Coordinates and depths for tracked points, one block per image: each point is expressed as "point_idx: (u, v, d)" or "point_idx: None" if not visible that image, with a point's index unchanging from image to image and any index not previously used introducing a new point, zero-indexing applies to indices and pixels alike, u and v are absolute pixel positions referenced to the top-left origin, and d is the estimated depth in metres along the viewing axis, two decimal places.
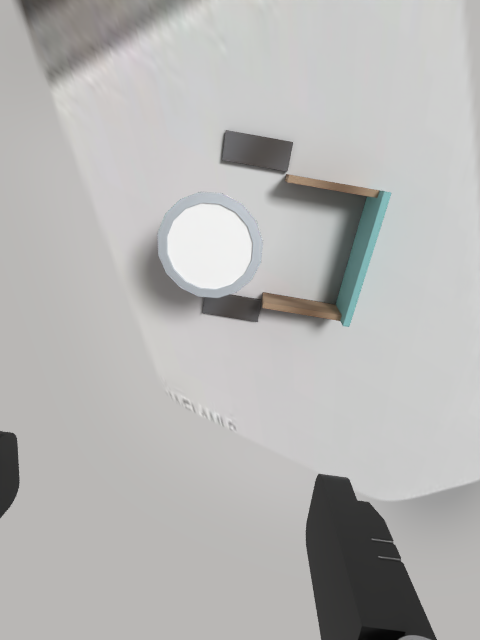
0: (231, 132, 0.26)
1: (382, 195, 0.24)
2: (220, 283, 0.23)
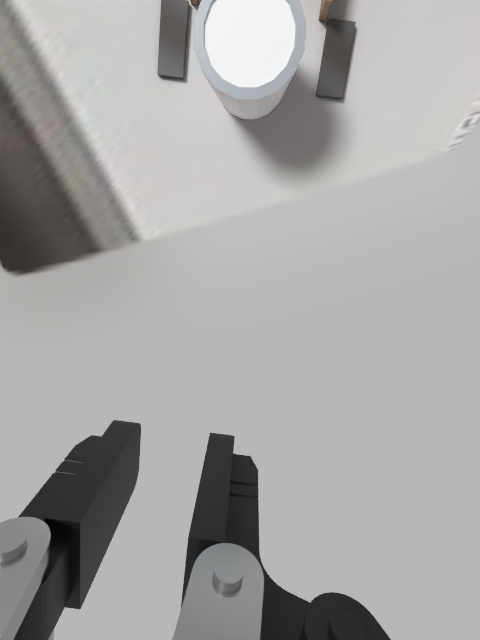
0: (158, 67, 0.27)
1: None
2: (288, 20, 0.21)
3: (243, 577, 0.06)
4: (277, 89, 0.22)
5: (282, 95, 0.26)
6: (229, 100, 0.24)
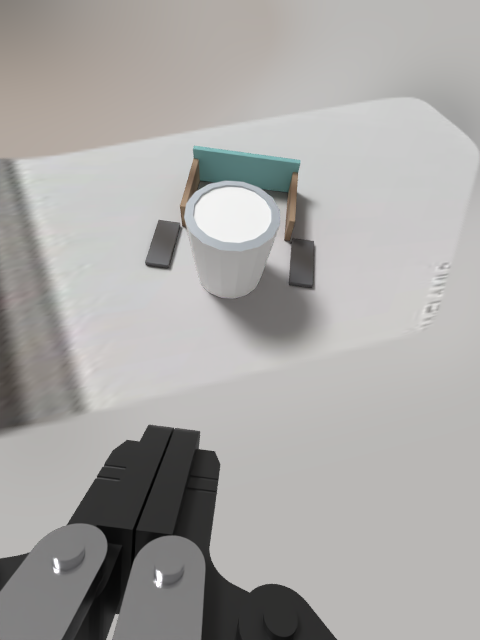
0: (147, 258, 0.30)
1: (196, 150, 0.33)
2: (265, 207, 0.25)
3: (183, 568, 0.06)
4: (258, 246, 0.24)
5: (260, 273, 0.28)
6: (212, 260, 0.25)
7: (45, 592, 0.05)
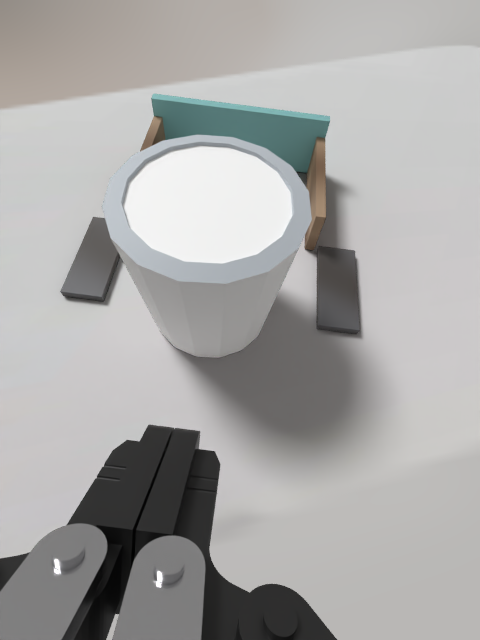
0: (65, 284, 0.17)
1: (156, 101, 0.20)
2: (278, 186, 0.12)
3: (184, 568, 0.06)
4: (267, 270, 0.10)
5: (266, 315, 0.15)
6: (166, 300, 0.12)
7: (45, 591, 0.05)
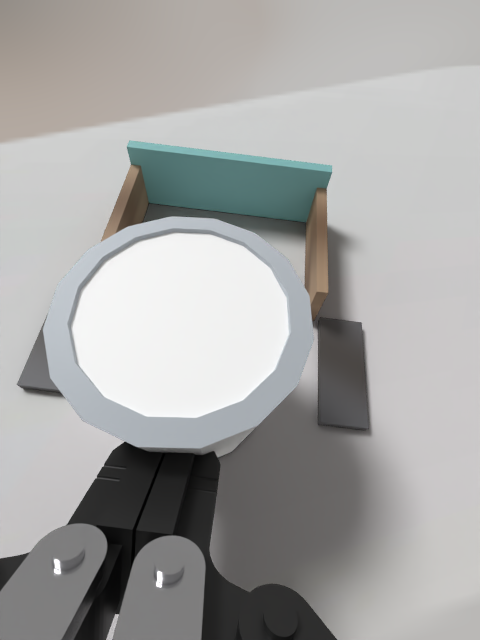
0: (23, 375, 0.15)
1: (132, 150, 0.17)
2: (271, 289, 0.10)
3: (184, 568, 0.06)
4: (256, 422, 0.08)
5: None
6: None
7: (45, 591, 0.05)
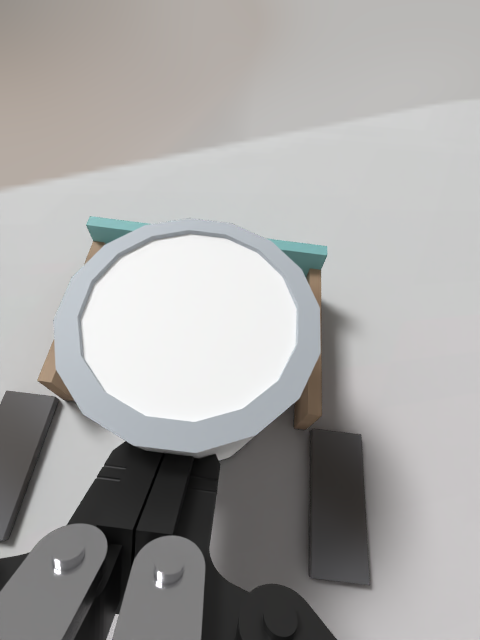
0: None
1: (93, 227, 0.15)
2: (281, 298, 0.09)
3: (183, 568, 0.06)
4: (254, 432, 0.08)
5: None
6: None
7: (44, 591, 0.05)
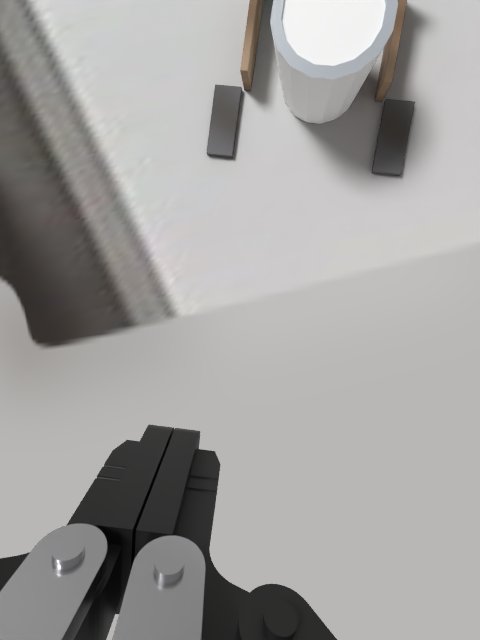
0: (208, 147, 0.27)
1: None
2: None
3: (183, 568, 0.06)
4: (357, 70, 0.19)
5: (355, 94, 0.24)
6: (299, 85, 0.21)
7: (45, 592, 0.05)
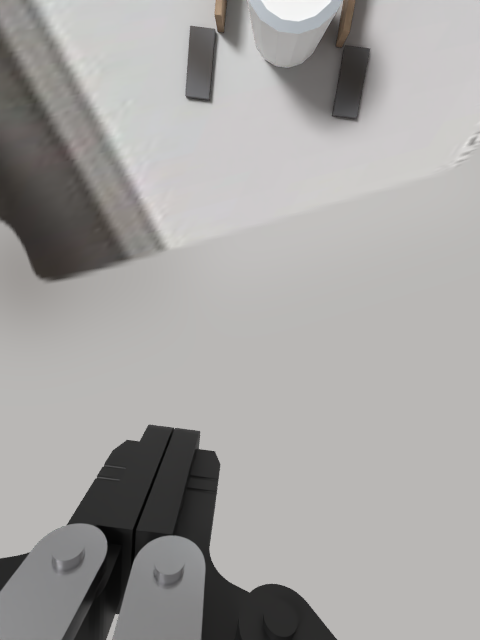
0: (186, 90, 0.29)
1: None
2: None
3: (184, 568, 0.06)
4: (318, 26, 0.23)
5: (318, 42, 0.27)
6: (269, 36, 0.24)
7: (45, 592, 0.05)
